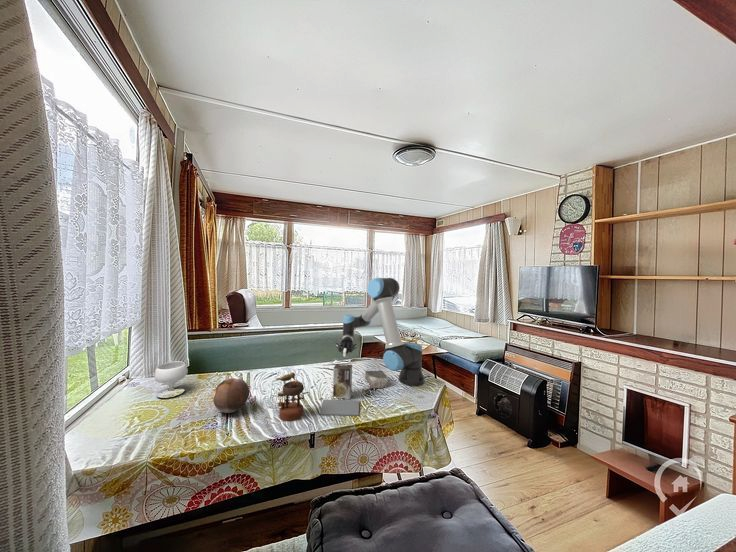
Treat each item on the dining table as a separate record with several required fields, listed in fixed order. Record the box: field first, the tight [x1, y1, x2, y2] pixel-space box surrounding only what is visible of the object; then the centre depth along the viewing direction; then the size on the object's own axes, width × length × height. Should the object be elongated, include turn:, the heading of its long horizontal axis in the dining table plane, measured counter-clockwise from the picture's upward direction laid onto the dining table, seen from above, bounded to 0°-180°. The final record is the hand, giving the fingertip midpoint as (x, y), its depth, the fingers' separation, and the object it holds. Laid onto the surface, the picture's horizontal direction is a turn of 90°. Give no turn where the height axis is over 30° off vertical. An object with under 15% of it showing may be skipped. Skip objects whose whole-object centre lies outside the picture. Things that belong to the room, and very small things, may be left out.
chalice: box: [153, 360, 189, 391], centre depth 142 cm, size 14×14×15 cm
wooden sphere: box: [212, 377, 250, 414], centre depth 128 cm, size 15×15×15 cm
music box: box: [275, 372, 310, 422], centre depth 126 cm, size 15×11×20 cm
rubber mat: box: [318, 399, 360, 417], centre depth 133 cm, size 18×14×1 cm
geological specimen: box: [364, 370, 389, 390], centre depth 163 cm, size 11×6×15 cm
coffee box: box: [332, 363, 353, 400], centre depth 145 cm, size 9×6×16 cm
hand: (344, 354), depth 155 cm, fingers closed
